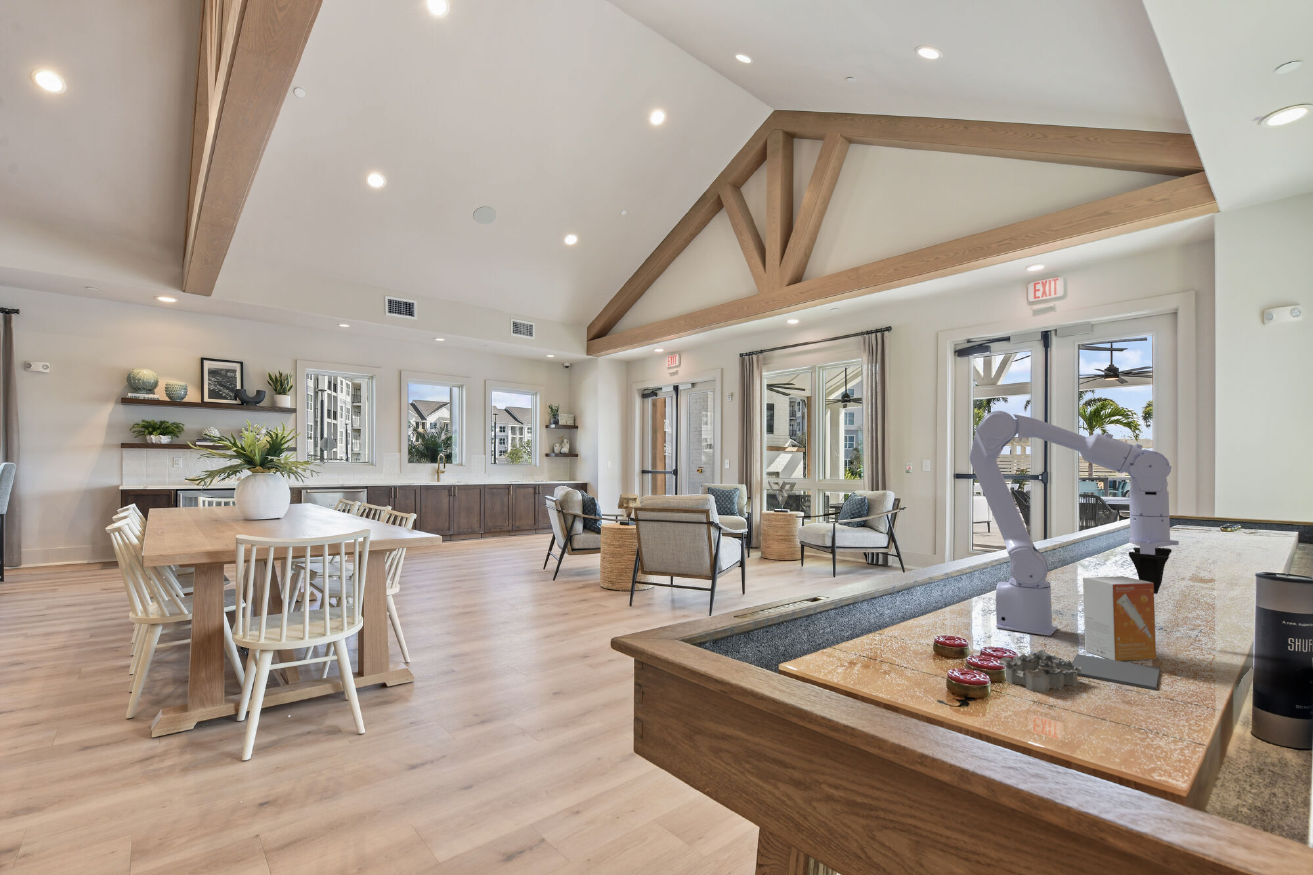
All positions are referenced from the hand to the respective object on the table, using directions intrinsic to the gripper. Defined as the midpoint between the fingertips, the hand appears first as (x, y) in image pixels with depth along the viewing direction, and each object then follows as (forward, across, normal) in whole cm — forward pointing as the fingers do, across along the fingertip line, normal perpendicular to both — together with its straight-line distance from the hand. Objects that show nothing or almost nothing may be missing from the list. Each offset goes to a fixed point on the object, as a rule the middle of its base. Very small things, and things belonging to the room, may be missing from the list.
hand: (1151, 589), depth 112 cm
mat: (+10, -23, +4) cm, 25 cm away
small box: (+10, -12, +4) cm, 16 cm away
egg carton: (+10, -35, +12) cm, 38 cm away
